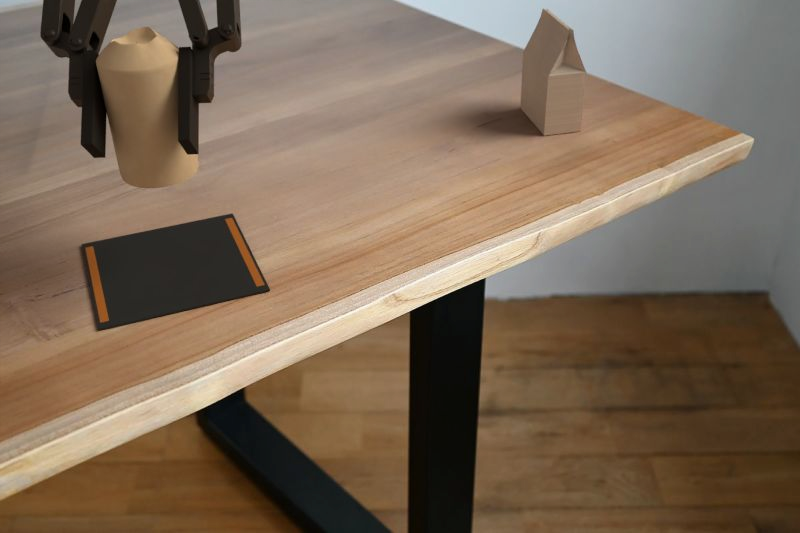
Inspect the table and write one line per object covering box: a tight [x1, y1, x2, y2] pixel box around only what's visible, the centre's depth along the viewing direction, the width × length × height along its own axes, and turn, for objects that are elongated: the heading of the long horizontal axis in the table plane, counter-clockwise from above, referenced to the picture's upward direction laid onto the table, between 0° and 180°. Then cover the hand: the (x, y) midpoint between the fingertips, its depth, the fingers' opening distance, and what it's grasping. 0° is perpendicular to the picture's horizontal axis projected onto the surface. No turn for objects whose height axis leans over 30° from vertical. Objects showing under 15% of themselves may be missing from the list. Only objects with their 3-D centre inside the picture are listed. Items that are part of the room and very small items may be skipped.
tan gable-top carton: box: [519, 7, 587, 136], centre depth 87 cm, size 4×7×10 cm, turn 13°
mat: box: [81, 213, 271, 332], centre depth 68 cm, size 12×12×1 cm
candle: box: [96, 26, 200, 189], centre depth 62 cm, size 6×6×10 cm
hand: (141, 148), depth 60 cm, fingers closed on candle, 5 cm apart
